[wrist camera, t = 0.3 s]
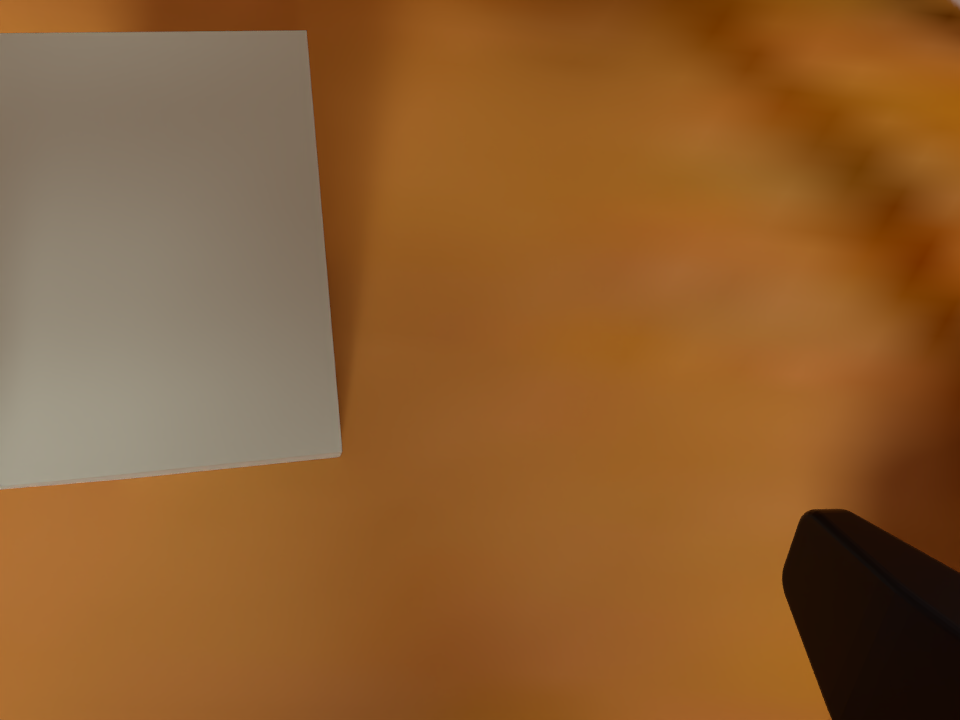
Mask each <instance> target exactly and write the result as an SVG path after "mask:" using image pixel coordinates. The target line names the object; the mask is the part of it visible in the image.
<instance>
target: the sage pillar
mask: <svg viewBox="0 0 960 720" xmlns="http://www.w3.org/2000/svg"><path fill="white" fill-rule="evenodd" d="M341 453H342V442H341V430H340V419H339V407H338V395H337V383H336V372H335V360H334V348H333V336H332V324H331V313H330V301H329V289H328V277H327V265H326V254H325V242H324V230H323V218H322V206H321V195H320V183H319V171H318V159H317V148H316V136H315V124H314V112H313V100H312V89H311V77H310V65H309V53H308V41H307V30H296V31H193V32H91V33H0V489H11V488H23V487H35V486H47V485H59V484H71V483H83V482H95V481H108V480H120V479H130V478H139V477H149V476H159V475H169V474H178V473H188V472H198V471H208V470H217V469H227V468H237V467H247V466H256V465H266V464H276V463H286V462H295V461H305V460H315V459H325V458H334V457H340V455H341Z"/></svg>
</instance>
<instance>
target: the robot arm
mask: <svg viewBox="0 0 960 720" xmlns="http://www.w3.org/2000/svg"><path fill="white" fill-rule="evenodd" d="M782 583H783V589H784V593H785V596H786V599H787V602H788V604H789V607H790V610H791V612H792V615H793V618H794V620H795V623H796V626H797V628H798V631H799V634H800V636H801V639H802V642H803V644H804V647H805V650H806V653H807V655H808V658H809V661H810V663H811V666H812V669H813V671H814V674H815V677H816V679H817V682H818V685H819V687H820V690H821V693H822V696H823V698H824V701H825V704H826V706H827V709H828V711H829V713H830V716H831V718H832V720H960V573H959V572H957V571H955V570H953V569H952V568H950V567H948V566H946V565H945V564H943V563H941V562H939V561H937V560H936V559H934V558H932V557H930V556H928V555H927V554H925V553H923V552H921V551H920V550H918V549H916V548H914V547H912V546H911V545H909V544H907V543H905V542H904V541H902V540H900V539H898V538H896V537H895V536H893V535H891V534H889V533H888V532H886V531H884V530H882V529H880V528H879V527H877V526H875V525H873V524H871V523H870V522H868V521H866V520H864V519H863V518H861V517H859V516H857V515H855V514H854V513H852V512H850V511H848V510H844V509H813V510H810V511H807V512H806V513H805V514H804V515H803V516H802V517H801V519H800V521H799V523H798V526H797V529H796V532H795V535H794V538H793V541H792V544H791V547H790V550H789V553H788V556H787V559H786V561H785V564H784V568H783V574H782Z"/></svg>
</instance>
